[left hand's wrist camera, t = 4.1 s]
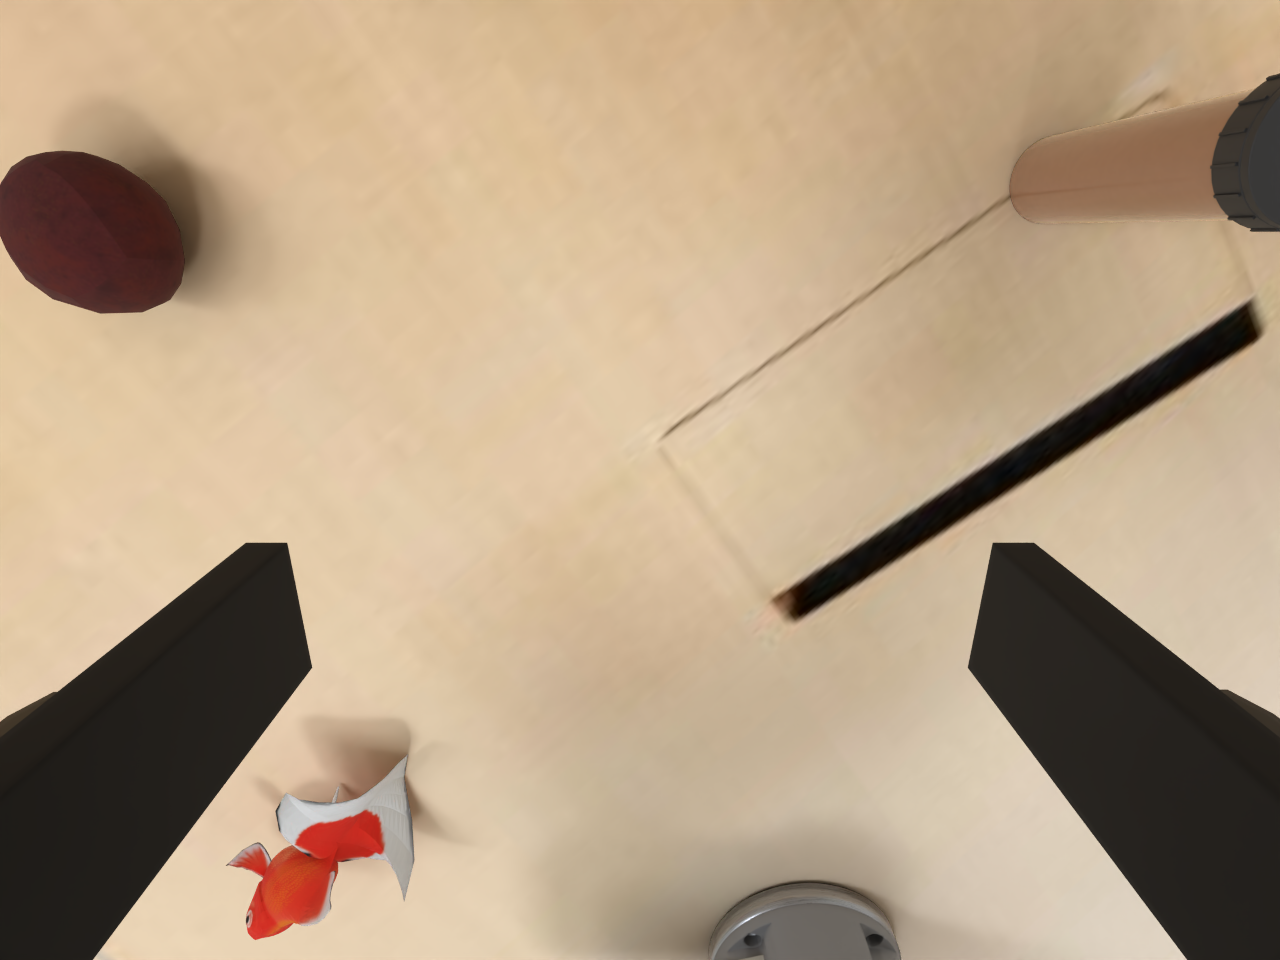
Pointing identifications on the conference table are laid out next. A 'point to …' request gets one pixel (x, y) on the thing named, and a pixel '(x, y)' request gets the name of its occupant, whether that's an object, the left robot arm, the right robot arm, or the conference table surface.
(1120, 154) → the tan cylinder
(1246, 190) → the lid
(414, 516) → the conference table surface
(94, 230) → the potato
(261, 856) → the fish
